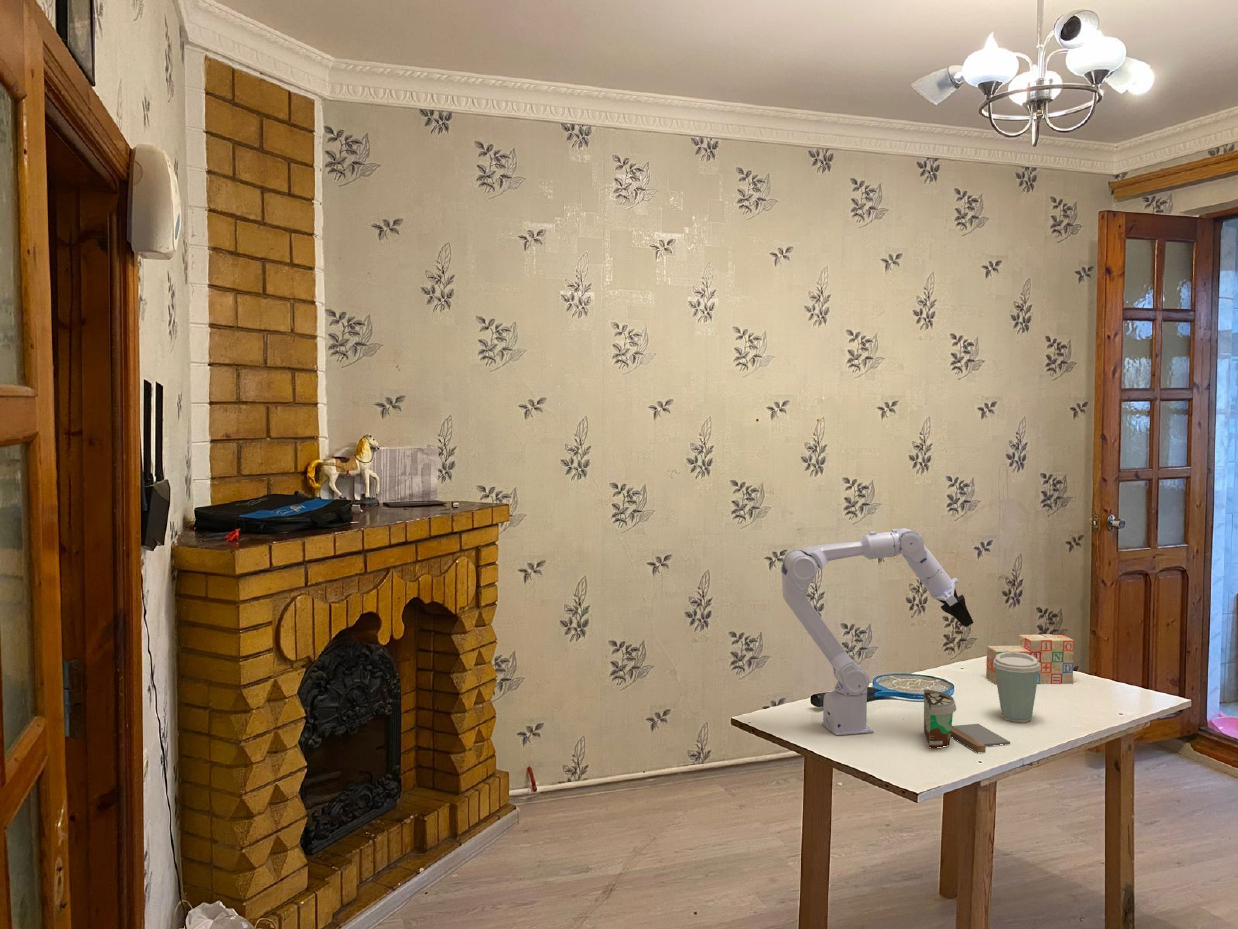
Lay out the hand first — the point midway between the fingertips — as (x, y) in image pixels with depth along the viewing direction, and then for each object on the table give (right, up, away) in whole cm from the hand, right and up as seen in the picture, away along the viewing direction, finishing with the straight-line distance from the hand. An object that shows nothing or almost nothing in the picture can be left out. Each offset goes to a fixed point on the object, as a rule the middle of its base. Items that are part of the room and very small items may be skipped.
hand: (965, 619), depth 211 cm
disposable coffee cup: (+15, -26, +9) cm, 31 cm away
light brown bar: (-3, -26, -5) cm, 27 cm away
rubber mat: (+2, -26, -3) cm, 26 cm away
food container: (-8, -27, -6) cm, 28 cm away
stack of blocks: (+32, -24, +39) cm, 56 cm away
